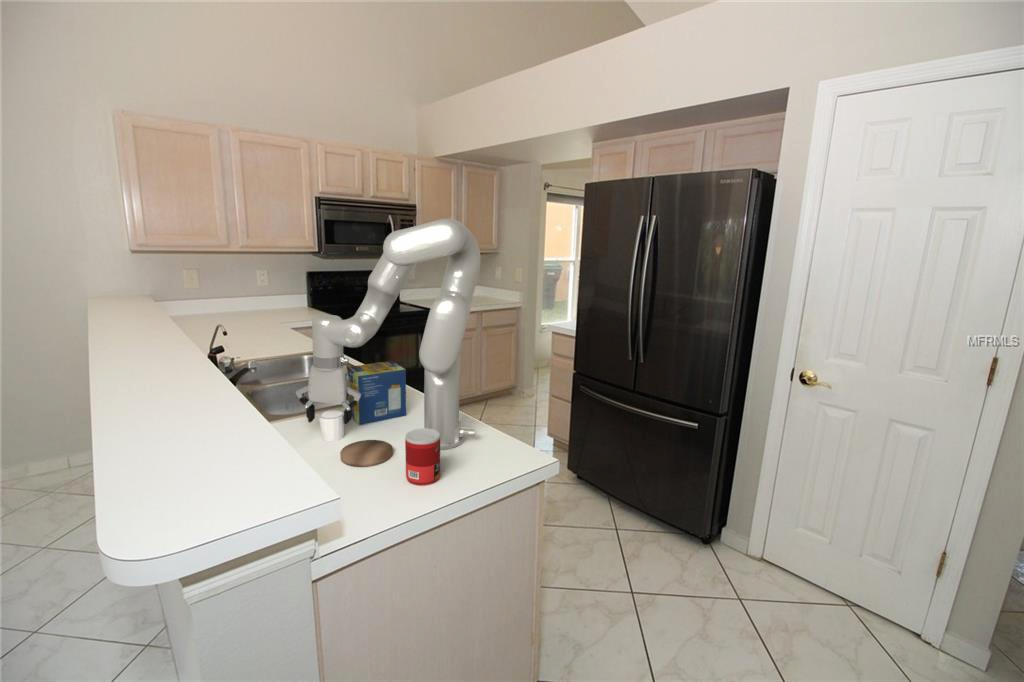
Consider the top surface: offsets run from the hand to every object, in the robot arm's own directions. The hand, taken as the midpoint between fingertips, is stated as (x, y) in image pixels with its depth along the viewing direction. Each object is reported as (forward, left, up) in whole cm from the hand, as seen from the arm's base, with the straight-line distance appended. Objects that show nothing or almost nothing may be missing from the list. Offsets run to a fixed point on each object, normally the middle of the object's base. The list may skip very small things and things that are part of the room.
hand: (329, 421), depth 131 cm
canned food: (-29, +21, -5) cm, 36 cm away
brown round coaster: (-13, +10, -5) cm, 17 cm away
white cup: (-1, 0, -5) cm, 5 cm away
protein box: (-9, -17, -5) cm, 20 cm away
